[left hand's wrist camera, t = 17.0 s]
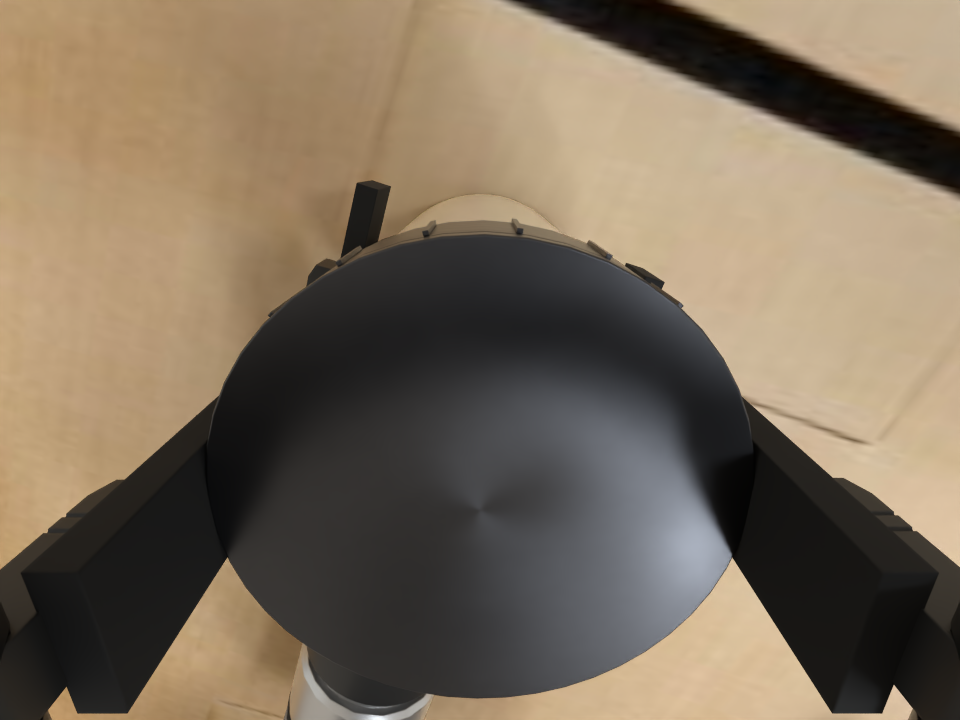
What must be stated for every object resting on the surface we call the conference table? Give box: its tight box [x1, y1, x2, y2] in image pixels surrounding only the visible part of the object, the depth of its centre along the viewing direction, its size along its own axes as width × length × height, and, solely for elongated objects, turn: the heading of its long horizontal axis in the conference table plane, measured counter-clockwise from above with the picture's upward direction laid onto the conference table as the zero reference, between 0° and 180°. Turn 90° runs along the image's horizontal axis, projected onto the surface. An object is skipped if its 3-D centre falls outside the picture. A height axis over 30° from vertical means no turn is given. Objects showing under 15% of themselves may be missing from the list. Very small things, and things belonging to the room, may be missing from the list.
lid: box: [206, 218, 754, 698], centre depth 11 cm, size 11×11×2 cm
